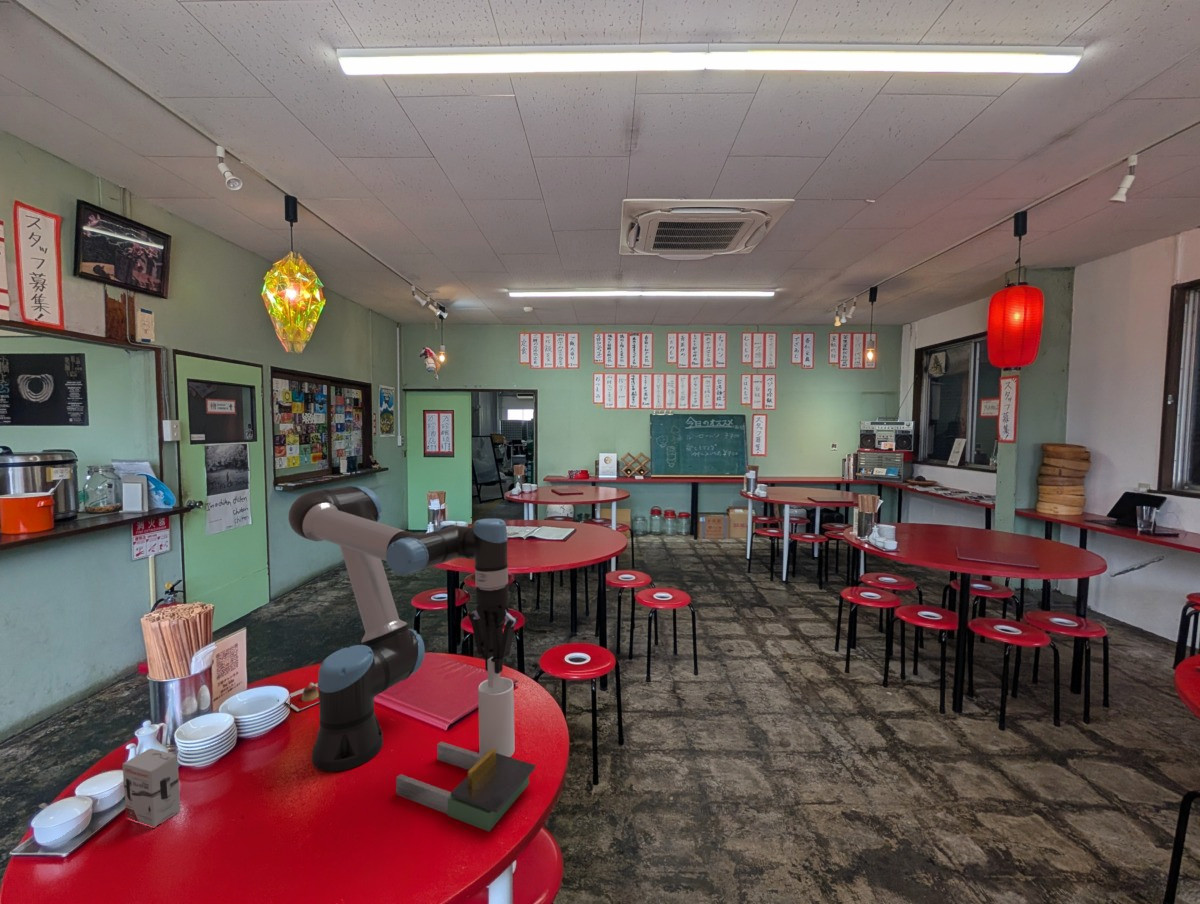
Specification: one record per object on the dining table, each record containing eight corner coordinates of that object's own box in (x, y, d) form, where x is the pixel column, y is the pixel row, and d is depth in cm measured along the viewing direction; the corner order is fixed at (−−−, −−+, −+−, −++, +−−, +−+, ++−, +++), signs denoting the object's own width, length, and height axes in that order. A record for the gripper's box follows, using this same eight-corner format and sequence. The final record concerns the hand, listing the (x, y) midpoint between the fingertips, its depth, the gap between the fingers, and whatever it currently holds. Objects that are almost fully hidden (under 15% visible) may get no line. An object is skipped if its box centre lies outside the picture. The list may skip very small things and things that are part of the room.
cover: (450, 796, 98) (450, 777, 98) (492, 755, 110) (492, 738, 110) (496, 813, 93) (496, 793, 93) (535, 768, 106) (534, 751, 106)
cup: (518, 741, 122) (517, 677, 121) (509, 763, 113) (507, 695, 113) (486, 740, 122) (484, 676, 122) (474, 761, 114) (473, 693, 114)
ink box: (123, 820, 98) (121, 762, 97) (153, 802, 103) (150, 747, 102) (153, 830, 95) (150, 770, 95) (181, 811, 100) (179, 754, 100)
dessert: (297, 715, 135) (296, 698, 135) (278, 701, 143) (278, 685, 142) (341, 696, 145) (341, 680, 145) (322, 684, 152) (321, 669, 152)
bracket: (396, 794, 104) (396, 777, 104) (441, 756, 116) (440, 741, 116) (448, 814, 98) (448, 796, 98) (490, 772, 111) (489, 756, 110)
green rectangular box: (447, 815, 98) (447, 798, 98) (490, 771, 111) (490, 756, 111) (489, 831, 94) (488, 813, 94) (529, 784, 107) (528, 768, 107)
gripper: (459, 587, 115) (461, 686, 116) (504, 593, 109) (507, 698, 110) (480, 578, 122) (482, 672, 122) (524, 584, 116) (526, 683, 117)
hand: (494, 685), depth 116 cm, fingers closed
